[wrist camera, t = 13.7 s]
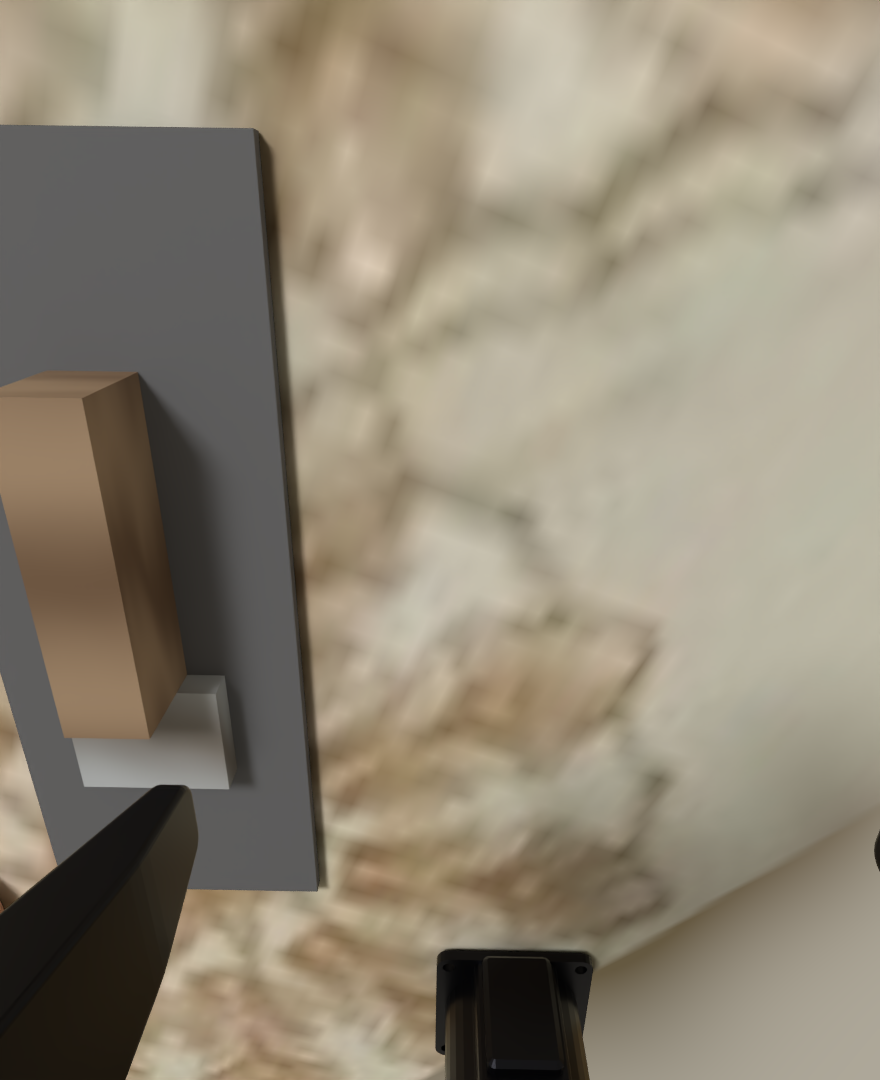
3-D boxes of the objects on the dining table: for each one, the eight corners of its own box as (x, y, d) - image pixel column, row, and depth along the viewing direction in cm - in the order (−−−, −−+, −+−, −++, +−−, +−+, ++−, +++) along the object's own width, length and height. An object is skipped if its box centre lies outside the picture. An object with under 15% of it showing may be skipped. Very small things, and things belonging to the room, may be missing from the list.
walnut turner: (237, 768, 25) (209, 840, 22) (97, 766, 25) (51, 837, 22) (183, 372, 19) (135, 399, 16) (1, 369, 19) (-79, 396, 16)
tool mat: (319, 880, 28) (317, 891, 27) (69, 875, 28) (63, 886, 27) (258, 130, 17) (253, 128, 17) (-147, 125, 17) (-163, 122, 17)
